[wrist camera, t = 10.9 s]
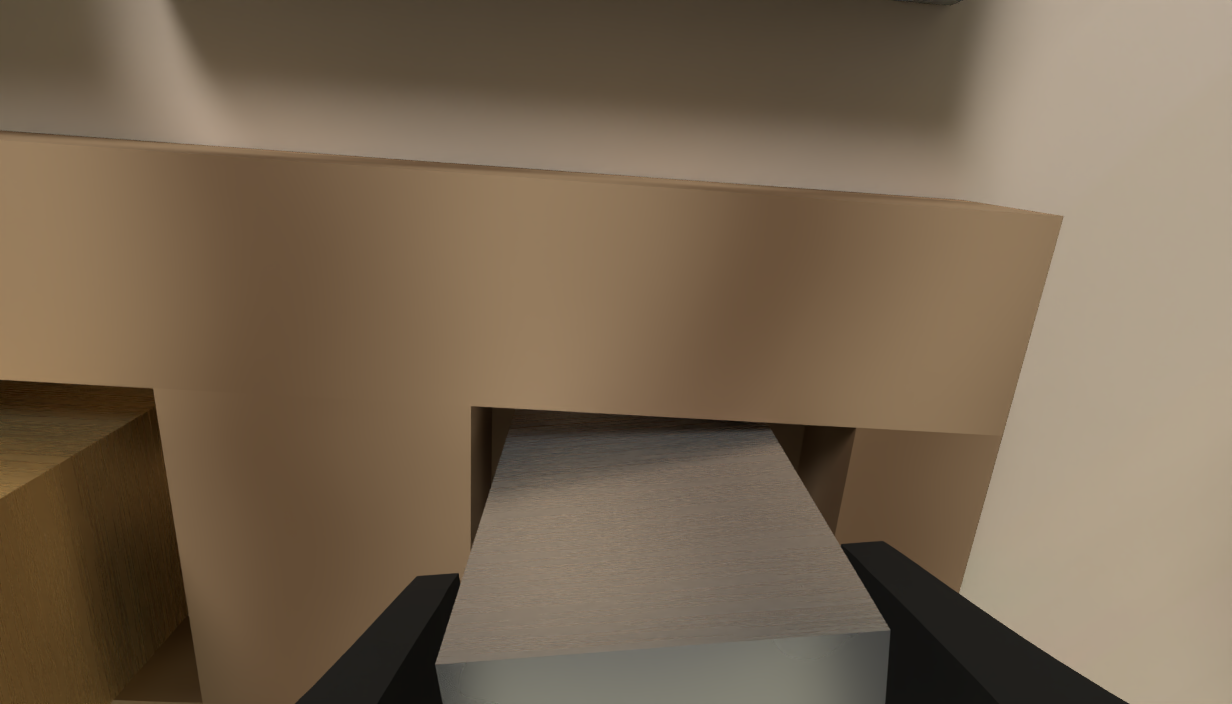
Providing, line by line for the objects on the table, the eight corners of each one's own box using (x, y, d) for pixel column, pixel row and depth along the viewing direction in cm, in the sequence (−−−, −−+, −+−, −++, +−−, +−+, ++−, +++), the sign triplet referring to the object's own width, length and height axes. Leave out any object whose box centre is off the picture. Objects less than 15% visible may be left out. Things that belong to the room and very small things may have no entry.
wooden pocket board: (963, 200, 11) (1063, 216, 9) (838, 743, 15) (884, 858, 12) (-288, 109, 10) (-561, 100, 8) (-88, 711, 14) (-231, 830, 11)
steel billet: (744, 386, 11) (900, 647, 5) (747, 577, 13) (875, 958, 7) (518, 402, 11) (429, 682, 5) (542, 592, 13) (490, 988, 7)
